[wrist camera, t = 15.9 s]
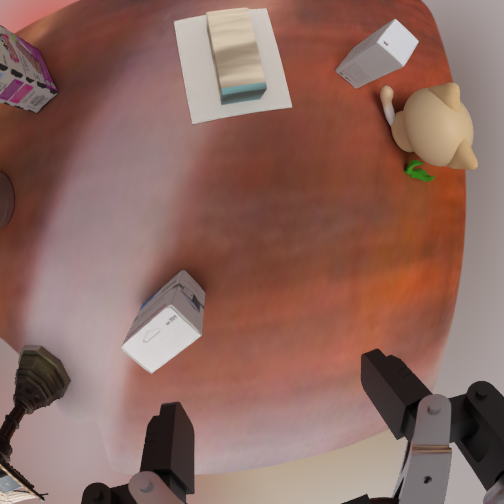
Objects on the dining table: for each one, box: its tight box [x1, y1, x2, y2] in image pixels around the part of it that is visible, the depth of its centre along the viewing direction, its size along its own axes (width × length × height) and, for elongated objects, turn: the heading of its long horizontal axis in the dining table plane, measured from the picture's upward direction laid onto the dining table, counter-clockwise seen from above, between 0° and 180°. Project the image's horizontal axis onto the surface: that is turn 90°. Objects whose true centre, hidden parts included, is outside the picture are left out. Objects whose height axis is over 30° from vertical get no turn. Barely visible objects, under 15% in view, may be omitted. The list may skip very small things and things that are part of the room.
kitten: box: [380, 83, 478, 182], centre depth 30 cm, size 15×10×15 cm
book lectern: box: [0, 346, 71, 504], centre depth 23 cm, size 17×13×35 cm
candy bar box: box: [0, 25, 58, 113], centre depth 19 cm, size 11×5×16 cm, turn 31°
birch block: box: [206, 8, 267, 105], centre depth 28 cm, size 5×5×12 cm
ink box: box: [121, 270, 205, 373], centre depth 33 cm, size 9×5×12 cm, turn 129°
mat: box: [174, 9, 292, 125], centre depth 31 cm, size 16×13×1 cm
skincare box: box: [335, 19, 419, 89], centre depth 27 cm, size 6×4×12 cm
